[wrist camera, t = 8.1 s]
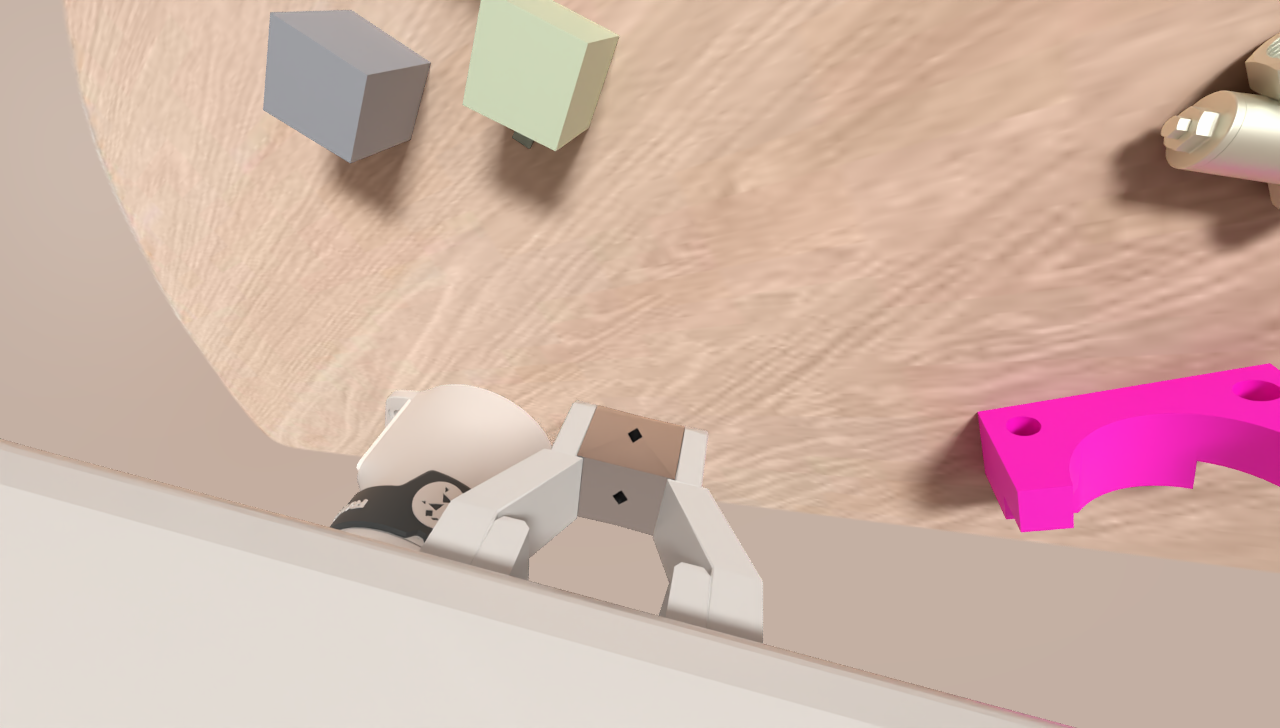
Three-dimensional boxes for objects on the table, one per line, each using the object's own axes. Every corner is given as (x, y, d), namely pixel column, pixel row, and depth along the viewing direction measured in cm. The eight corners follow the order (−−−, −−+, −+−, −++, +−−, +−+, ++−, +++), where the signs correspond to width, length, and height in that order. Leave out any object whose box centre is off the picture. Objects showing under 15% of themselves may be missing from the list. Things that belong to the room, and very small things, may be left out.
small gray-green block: (530, 148, 32) (529, 149, 32) (513, 136, 32) (512, 137, 31) (542, 118, 31) (541, 119, 30) (525, 106, 30) (523, 106, 30)
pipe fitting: (1181, 126, 22) (1430, 6, 18) (1134, 104, 25) (1340, -3, 21) (1218, 267, 25) (1436, 188, 21) (1172, 233, 28) (1357, 158, 24)
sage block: (589, 127, 30) (555, 151, 26) (511, 88, 30) (462, 104, 25) (619, 35, 27) (587, 43, 23) (533, -10, 27) (482, -12, 22)
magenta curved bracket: (984, 471, 39) (1023, 556, 33) (976, 409, 36) (1017, 491, 30) (1251, 437, 33) (1356, 534, 27) (1267, 361, 30) (1389, 450, 24)
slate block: (411, 139, 33) (350, 163, 28) (338, 93, 32) (263, 109, 27) (431, 62, 30) (367, 75, 25) (351, 9, 29) (270, 12, 25)
